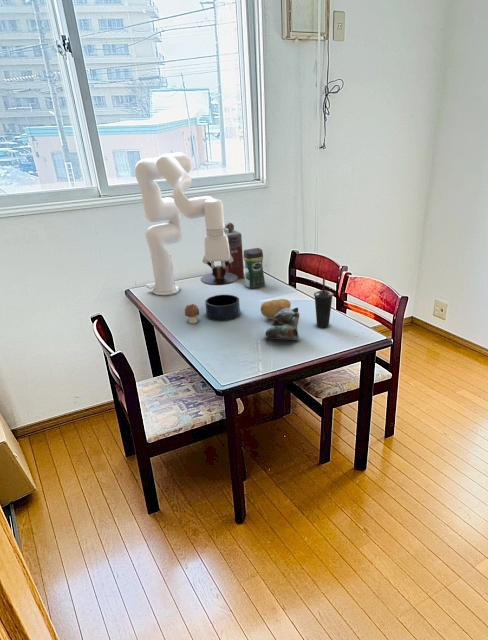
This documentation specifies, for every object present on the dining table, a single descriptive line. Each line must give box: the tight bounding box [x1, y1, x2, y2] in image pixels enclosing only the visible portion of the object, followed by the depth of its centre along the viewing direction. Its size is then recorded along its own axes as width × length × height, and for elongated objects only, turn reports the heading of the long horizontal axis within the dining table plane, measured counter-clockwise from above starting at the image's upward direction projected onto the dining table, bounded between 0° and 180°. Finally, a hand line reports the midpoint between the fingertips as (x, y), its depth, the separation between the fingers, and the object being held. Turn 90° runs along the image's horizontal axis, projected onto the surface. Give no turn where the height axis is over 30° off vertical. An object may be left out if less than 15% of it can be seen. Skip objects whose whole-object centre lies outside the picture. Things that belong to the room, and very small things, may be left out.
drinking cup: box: [313, 277, 334, 329], centre depth 199 cm, size 8×8×20 cm
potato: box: [260, 298, 291, 320], centre depth 211 cm, size 10×14×8 cm
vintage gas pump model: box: [220, 221, 245, 281], centre depth 254 cm, size 9×11×28 cm
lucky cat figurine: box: [263, 307, 300, 342], centre depth 191 cm, size 15×12×14 cm
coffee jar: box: [243, 247, 266, 289], centre depth 245 cm, size 10×8×19 cm
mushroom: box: [184, 303, 200, 324], centre depth 209 cm, size 6×6×8 cm
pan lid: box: [200, 265, 239, 286], centre depth 208 cm, size 16×16×6 cm
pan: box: [204, 294, 241, 322], centre depth 216 cm, size 15×15×6 cm
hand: (219, 276), depth 209 cm, fingers closed on pan lid, 2 cm apart
